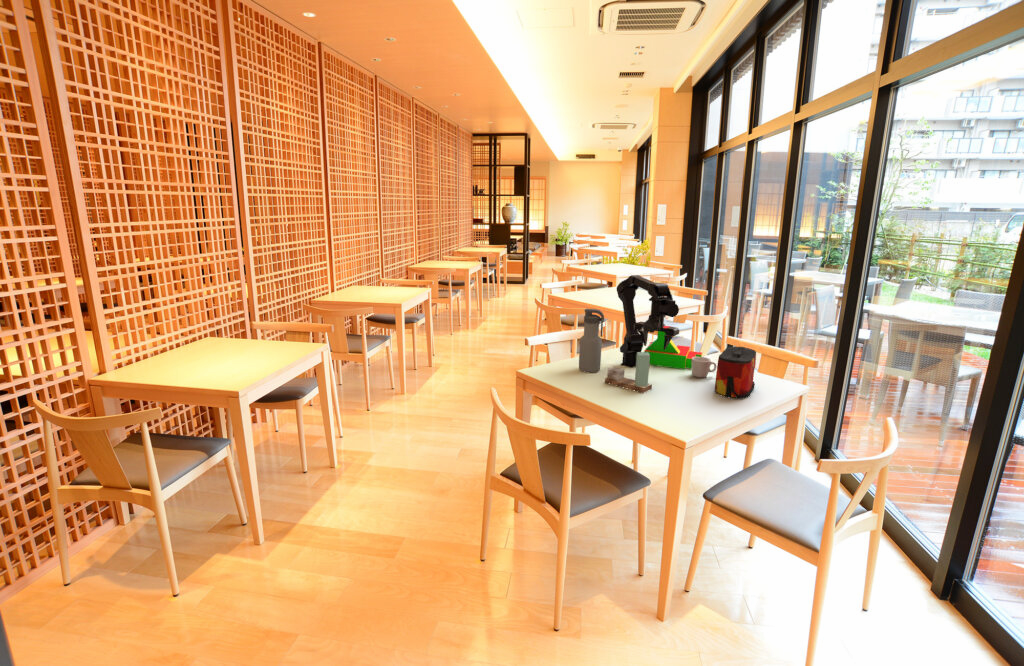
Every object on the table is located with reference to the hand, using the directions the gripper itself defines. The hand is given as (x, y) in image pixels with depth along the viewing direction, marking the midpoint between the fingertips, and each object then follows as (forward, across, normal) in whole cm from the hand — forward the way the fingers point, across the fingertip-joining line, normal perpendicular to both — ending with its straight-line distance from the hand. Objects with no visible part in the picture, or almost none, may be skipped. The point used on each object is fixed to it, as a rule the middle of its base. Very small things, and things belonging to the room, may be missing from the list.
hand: (654, 347), depth 230 cm
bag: (+13, +33, +10) cm, 36 cm away
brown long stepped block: (+13, -1, -20) cm, 23 cm away
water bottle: (+13, -25, -12) cm, 31 cm away
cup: (+13, +16, +16) cm, 26 cm away
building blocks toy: (+14, -4, +28) cm, 31 cm away
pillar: (+11, +5, -19) cm, 23 cm away
